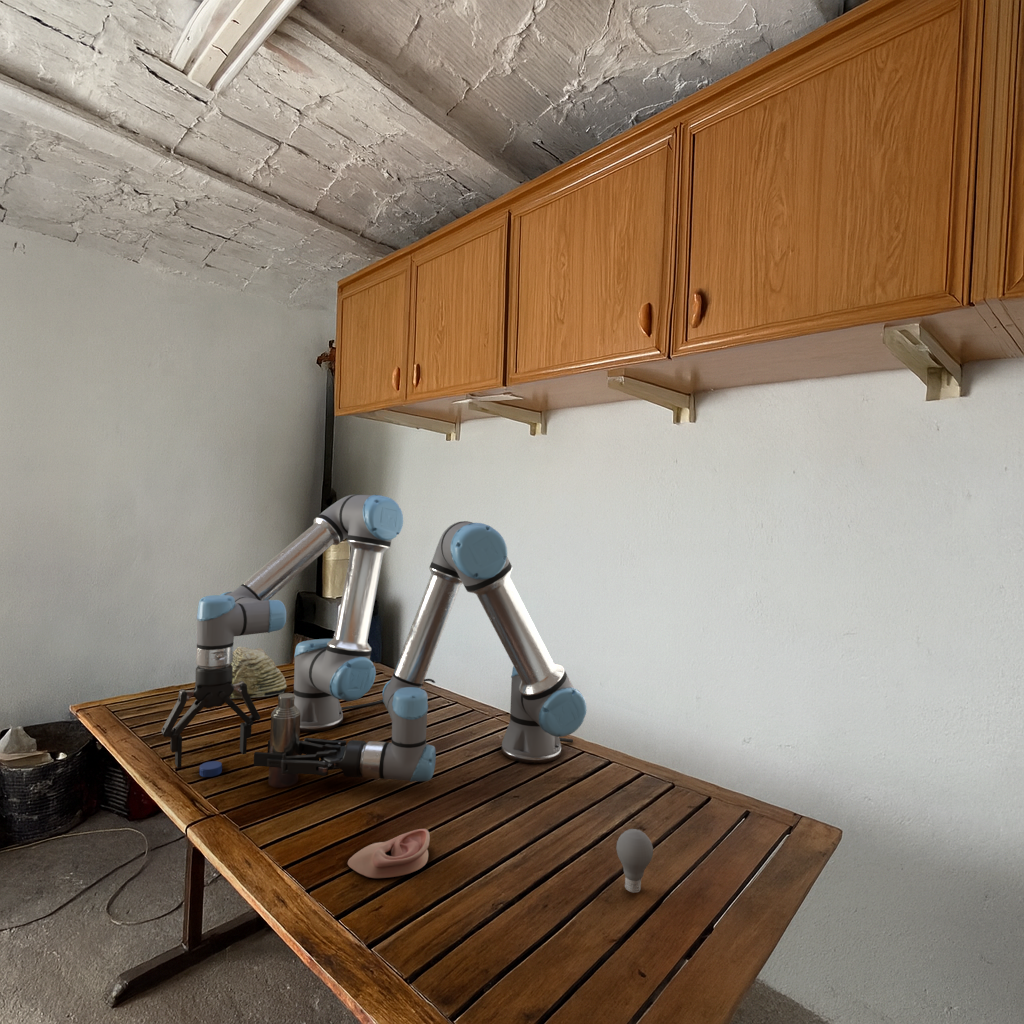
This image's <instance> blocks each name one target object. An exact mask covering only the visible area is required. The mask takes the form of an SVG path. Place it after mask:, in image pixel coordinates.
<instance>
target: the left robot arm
mask: <svg viewBox="0 0 1024 1024" xmlns="http://www.w3.org/2000/svg"><path fill="white" fill-rule="evenodd" d="M403 527H404V514H403V511H402V509H401V508H400V506H399V504H398V503H397V501H396V500H395V499H393V498H391V497H389V496H384V495H380V494H357V493H356V494H349V495H346V496H344V497H342V498H340V499H338V500H337V501H336V502H334V503H332V504H331V505H330V506H328V507H327V508H325V510H323V511H322V512H321V513H319V514H318V515H317V516H316V517H315V518H314V519H313V524H312V525H311V526H310V527H309V528H307V529H306V530H304V532H302V533H301V534H300V535H299V536H297V538H296V539H294V540H293V541H292V542H291V543H289V544H288V545H287V546H286V547H285V548H283V549H282V550H281V551H280V552H279V553H278V554H277V555H275V556H273V558H271V559H270V560H269V561H268V562H267V563H266V564H264V565H263V566H261V568H259V569H258V570H257V571H256V572H255V573H253V574H252V575H251V576H250V577H249V578H248V579H246V580H245V581H244V582H243V583H242V584H241V585H239V586H238V587H236V588H235V589H234V590H233V591H225V592H223V593H221V594H212V595H206V596H203V597H202V598H200V599H199V601H198V606H197V615H196V654H195V665H196V666H197V667H195V678H194V679H195V680H194V681H195V682H194V688H193V689H191V690H190V689H189V690H188V689H187V690H185V689H184V688H181V689H180V690H179V691H178V696H177V700H176V702H175V704H174V705H173V708H172V710H171V712H170V713H169V715H168V717H167V719H166V720H165V722H164V725H163V726H162V728H161V731H160V733H161V734H162V736H163V737H164V738H169V739H170V740H169V741H170V743H169V744H170V746H169V749H170V751H171V753H174V764H175V766H176V769H179V768H182V758H183V757H182V756H183V755H182V754H183V736H182V735H181V734H182V732H184V731H185V729H186V728H187V726H189V724H190V723H191V722H192V721H193V719H194V718H195V717H196V716H197V715H198V713H200V712H201V711H202V710H203V709H204V708H206V709H211V708H214V707H218V708H219V707H222V706H223V705H225V704H226V705H227V706H228V707H230V709H232V711H233V712H235V714H236V715H238V717H240V719H241V720H243V722H240V728H239V729H240V730H239V731H240V732H239V752H240V753H241V754H242V755H246V754H247V750H248V749H247V747H248V746H247V745H248V739H249V738H251V737H252V728H253V727H252V726H253V725H254V723H255V722H257V721H260V720H261V715H260V714H259V711H258V709H257V707H256V706H255V704H254V702H253V700H252V698H250V696H249V694H248V693H247V684H246V683H244V682H243V681H240V682H239V683H237V684H232V671H233V666H232V665H231V663H232V662H233V652H234V644H235V643H234V640H235V637H242V636H250V635H257V634H265V633H266V634H267V633H268V634H270V633H272V632H277V631H278V632H279V631H281V630H282V629H283V628H284V627H285V625H286V622H287V609H286V606H285V604H284V602H282V600H279V599H272V598H273V597H274V596H275V595H277V593H279V592H280V591H281V590H282V589H284V588H285V586H286V585H288V584H289V583H290V582H291V581H292V580H294V578H296V577H297V576H298V575H299V574H300V573H302V572H303V571H304V570H305V569H307V567H309V566H310V565H311V564H312V563H313V562H314V561H315V560H317V559H318V558H319V557H320V556H321V555H322V554H323V553H325V552H326V551H327V550H328V549H329V548H330V547H331V546H338V545H339V544H341V543H342V542H343V541H345V540H346V543H347V544H348V545H349V547H350V553H349V558H348V559H349V560H348V564H347V568H346V569H347V570H346V574H345V580H344V583H343V584H344V585H343V590H342V595H341V601H340V605H339V611H338V616H337V621H336V626H335V632H334V636H333V638H319V639H308V640H303V641H300V642H299V643H297V644H296V646H295V650H294V655H293V657H294V672H293V673H294V674H293V694H294V695H295V699H294V705H295V706H296V707H297V708H298V709H299V710H300V733H316V732H325V731H329V730H332V729H335V728H337V727H339V726H340V725H342V723H343V722H344V714H343V711H344V710H350V709H357V708H364V707H369V706H374V705H378V704H382V703H384V702H383V699H380V700H376V701H372V702H366V703H362V704H361V703H360V704H355V705H348V706H341V702H340V700H342V701H346V702H353V701H357V700H359V699H361V698H362V697H363V696H365V694H366V693H368V692H369V691H370V690H371V689H372V687H373V686H374V683H375V680H376V677H377V670H376V666H375V665H374V663H373V661H372V660H371V655H372V647H371V646H370V644H369V643H368V639H369V634H370V628H371V623H372V617H373V611H374V606H375V601H376V596H377V590H378V585H379V579H380V574H381V569H382V563H383V558H384V557H383V556H384V554H385V552H387V551H388V550H390V549H391V545H392V540H394V539H395V538H396V537H398V535H400V533H401V531H402V529H403ZM424 682H425V683H426V682H431V683H433V684H435V683H436V681H435V680H434V679H432V678H425V679H424ZM424 682H423V683H424ZM234 690H236V691H237V692H238V693H240V694H241V696H242V698H241V699H242V701H243V703H244V704H245V706H246V707H247V710H248V712H249V713H250V715H249V716H248V715H247V714H246V713H245V712H244V710H242V708H240V706H238V705H237V704H236V703H235V702H234V701H233V700H232V698H230V695H231V694H232V692H233V691H234ZM191 697H194V698H195V700H194V701H193V703H191V706H190V707H189V709H188V710H187V711H186V712H185V713H184V715H183V716H182V717H181V718H180V719H179V717H180V715H181V714H182V712H183V710H184V708H185V706H186V705H187V702H188V701H190V700H191ZM178 719H179V720H178ZM177 721H178V722H177Z"/></svg>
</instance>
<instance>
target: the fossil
mask: <svg viewBox="0 0 1024 1024" xmlns="http://www.w3.org/2000/svg"><path fill="white" fill-rule="evenodd" d="M231 665H232V666H233V671H232V684H237V683H239V682H240V681H243V682H244V683H246V684H247V693H248V694H249V696H250V698H251V699H252V698H264V697H271V696H275V695H280V694H283V693H285V691H286V689H287V687H288V686H287V680H286V678H285V676H284V674H283V673H282V672H281V669H279V668H278V667H277V665H276V663H275V662H274V660H273V659H272V658H271V657H270V656H269V655H268V654H267V653H266V652H265V650H264V649H263V648H260V647H258V648H251V647H247V646H246V647H245V646H238V647H237V648H236V649H235V650H233V662H232V663H231ZM229 698H230V699H243V698H242V696H241V694H240V693H238V692H237V691H236V690H234V691H233V692H232V694H231V695H230V697H229Z"/></svg>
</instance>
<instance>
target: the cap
mask: <svg viewBox="0 0 1024 1024" xmlns="http://www.w3.org/2000/svg"><path fill="white" fill-rule="evenodd" d="M222 772H223V763H222V761H217V760H212V761H211V760H210V761H206V762H203V763H202V764H200V765H199V770H198V774H199V776H200V777H203V778H212V777H216V776H219V775H220V774H222Z"/></svg>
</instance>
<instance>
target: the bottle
mask: <svg viewBox="0 0 1024 1024" xmlns="http://www.w3.org/2000/svg"><path fill="white" fill-rule="evenodd" d="M294 699H295V695H294V693H292V692H283V693H280V694H278V697H277V701H278V703H277V706H276V707H275V708H274V709H273V711H272V712H271V714H270V732H269V740H270V753H280V754H283V753H286V756H295V755H299V741H301V739H300V738H301V731H300V710H299V709H298V708H297V707H296V706H295V705H294ZM298 781H299V774H288V773H282V768H281V767H268V785H269V786H270V787H273V788H287V787H291V786H293V785H296V784H297V783H298Z"/></svg>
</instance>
